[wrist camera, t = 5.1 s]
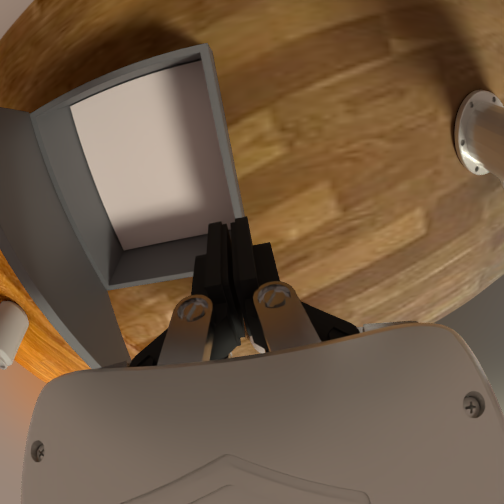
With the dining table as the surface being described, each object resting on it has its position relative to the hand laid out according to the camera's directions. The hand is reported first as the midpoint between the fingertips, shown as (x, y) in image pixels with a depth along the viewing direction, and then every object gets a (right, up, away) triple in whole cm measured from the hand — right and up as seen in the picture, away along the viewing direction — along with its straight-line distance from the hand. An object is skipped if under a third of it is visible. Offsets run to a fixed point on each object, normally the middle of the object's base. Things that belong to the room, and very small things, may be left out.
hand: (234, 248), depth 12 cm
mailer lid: (-12, 0, +3) cm, 12 cm away
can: (-45, -12, +26) cm, 53 cm away
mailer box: (-9, +9, +15) cm, 20 cm away
